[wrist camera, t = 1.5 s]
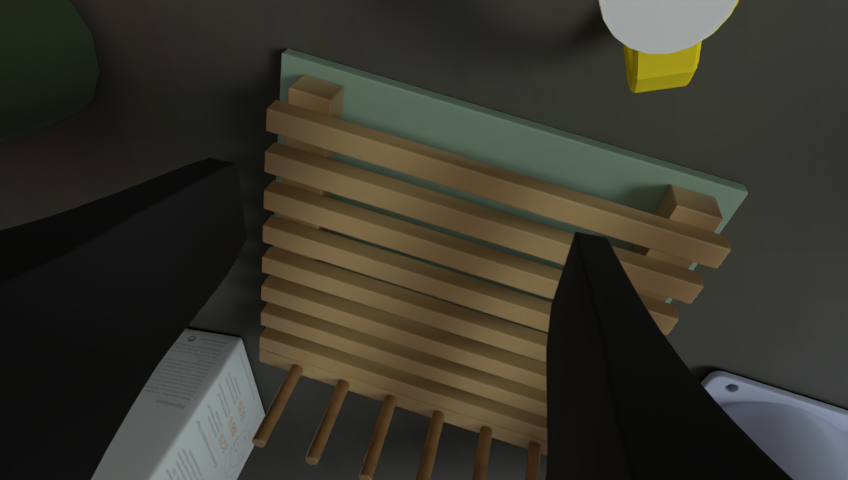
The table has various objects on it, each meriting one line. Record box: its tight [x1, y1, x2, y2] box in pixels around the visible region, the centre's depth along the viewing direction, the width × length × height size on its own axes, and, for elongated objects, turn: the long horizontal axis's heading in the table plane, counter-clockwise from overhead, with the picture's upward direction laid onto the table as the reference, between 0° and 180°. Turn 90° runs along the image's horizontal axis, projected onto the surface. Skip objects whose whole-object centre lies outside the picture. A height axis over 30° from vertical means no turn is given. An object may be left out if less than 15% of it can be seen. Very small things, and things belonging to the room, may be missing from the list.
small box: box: [91, 329, 265, 480], centre depth 29 cm, size 8×6×10 cm
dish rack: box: [252, 49, 748, 480], centre depth 21 cm, size 17×15×7 cm
